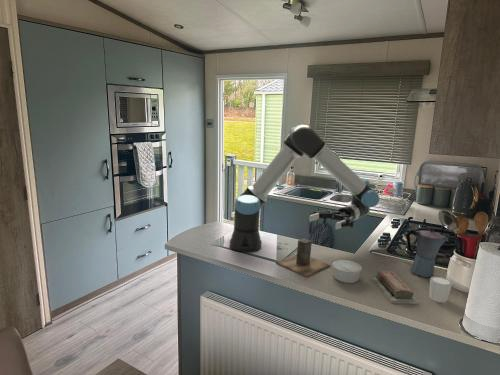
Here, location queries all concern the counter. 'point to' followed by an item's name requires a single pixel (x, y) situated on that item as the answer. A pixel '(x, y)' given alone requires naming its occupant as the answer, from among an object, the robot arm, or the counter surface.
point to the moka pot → (425, 251)
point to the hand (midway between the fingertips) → (322, 222)
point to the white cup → (439, 289)
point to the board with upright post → (303, 260)
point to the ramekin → (346, 271)
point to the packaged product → (394, 288)
